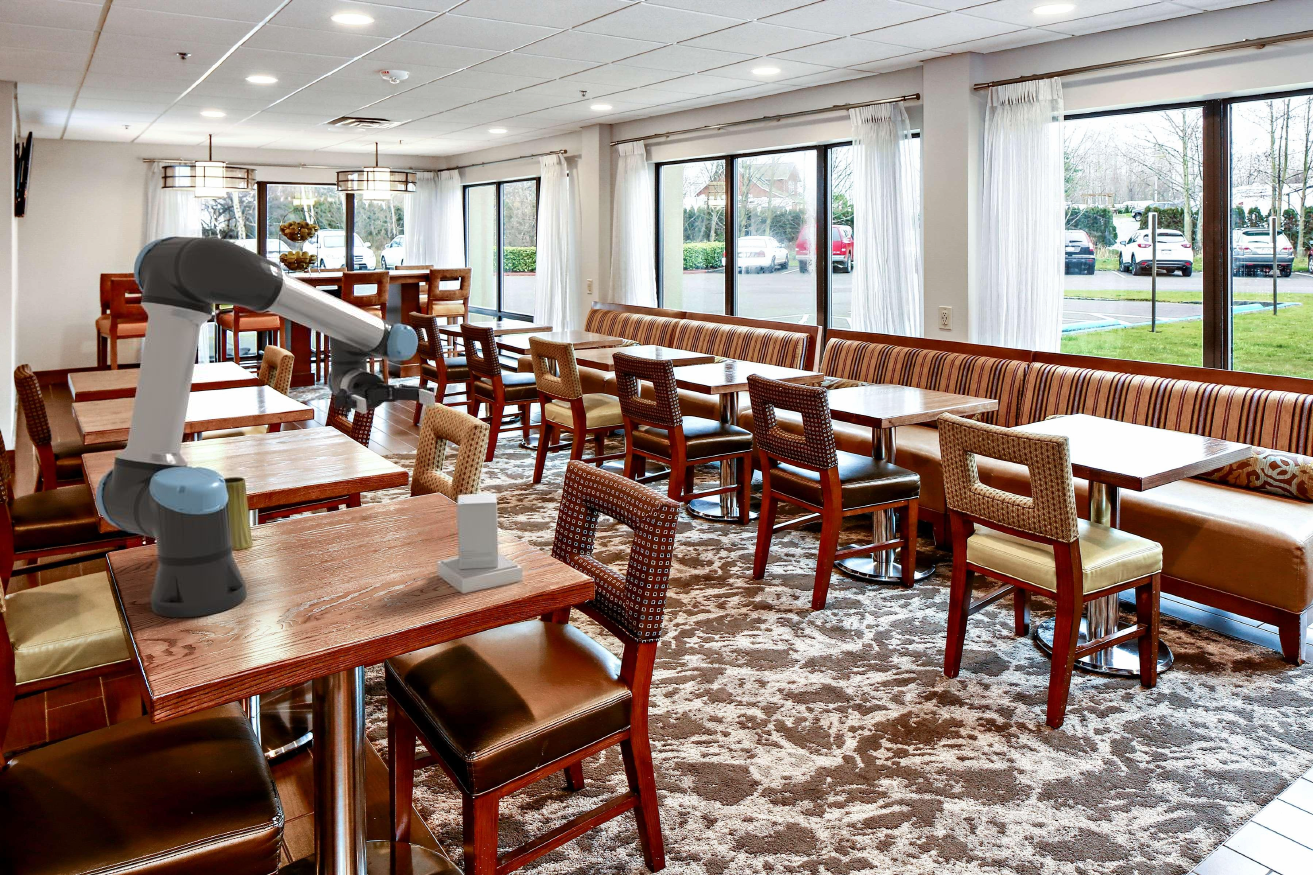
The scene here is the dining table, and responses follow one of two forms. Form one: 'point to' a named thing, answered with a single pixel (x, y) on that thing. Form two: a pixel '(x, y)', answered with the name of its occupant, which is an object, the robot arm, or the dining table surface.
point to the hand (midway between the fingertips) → (399, 403)
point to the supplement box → (477, 531)
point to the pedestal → (479, 574)
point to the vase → (238, 513)
